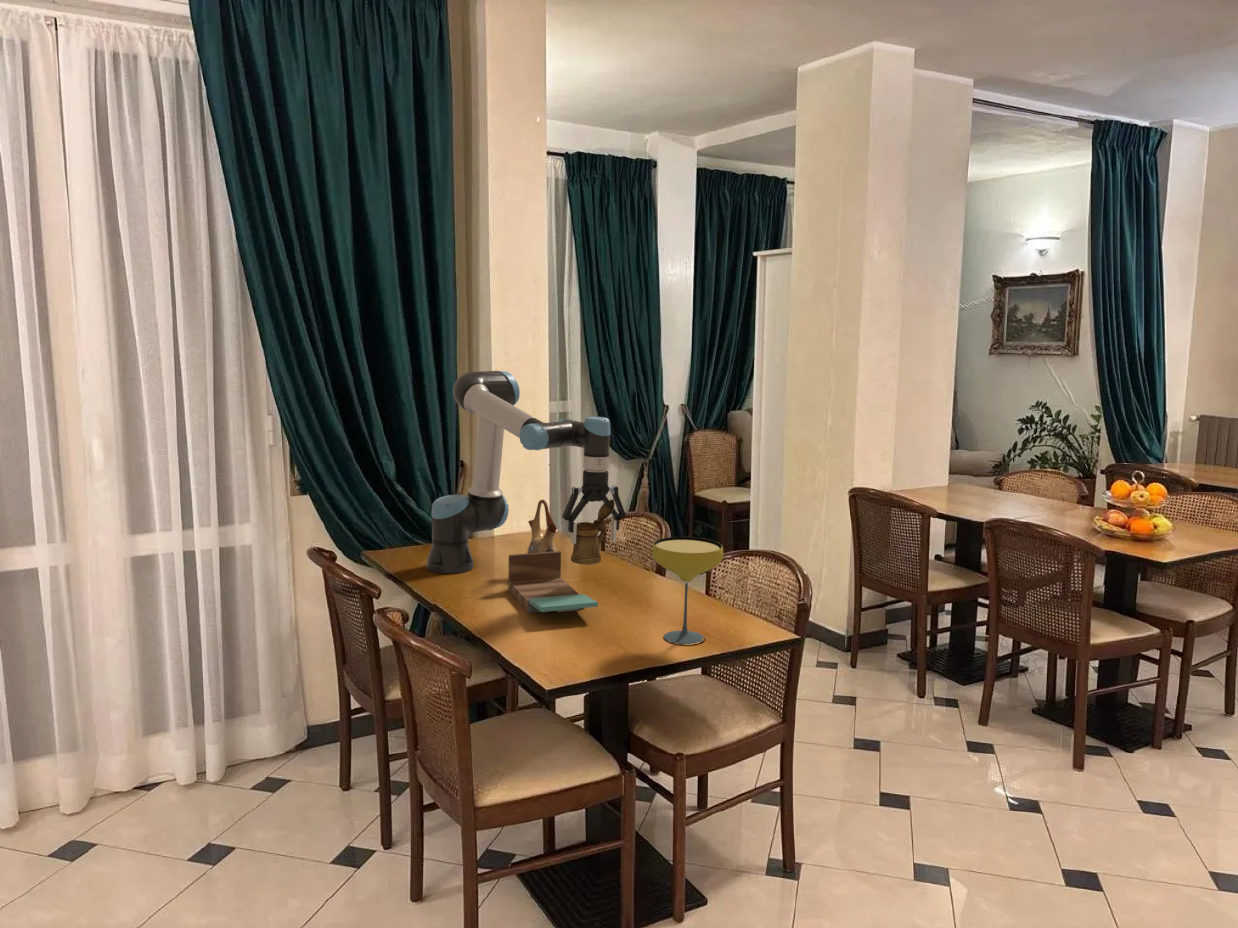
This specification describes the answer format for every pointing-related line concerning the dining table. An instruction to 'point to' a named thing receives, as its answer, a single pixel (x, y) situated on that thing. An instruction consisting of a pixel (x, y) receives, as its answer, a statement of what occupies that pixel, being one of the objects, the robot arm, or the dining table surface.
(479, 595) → the dining table surface
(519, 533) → the dining table surface
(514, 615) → the dining table surface
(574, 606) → the panel
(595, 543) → the wooden mug
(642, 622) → the dining table surface
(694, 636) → the cocktail glass
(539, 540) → the ceramic vessel
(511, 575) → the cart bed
